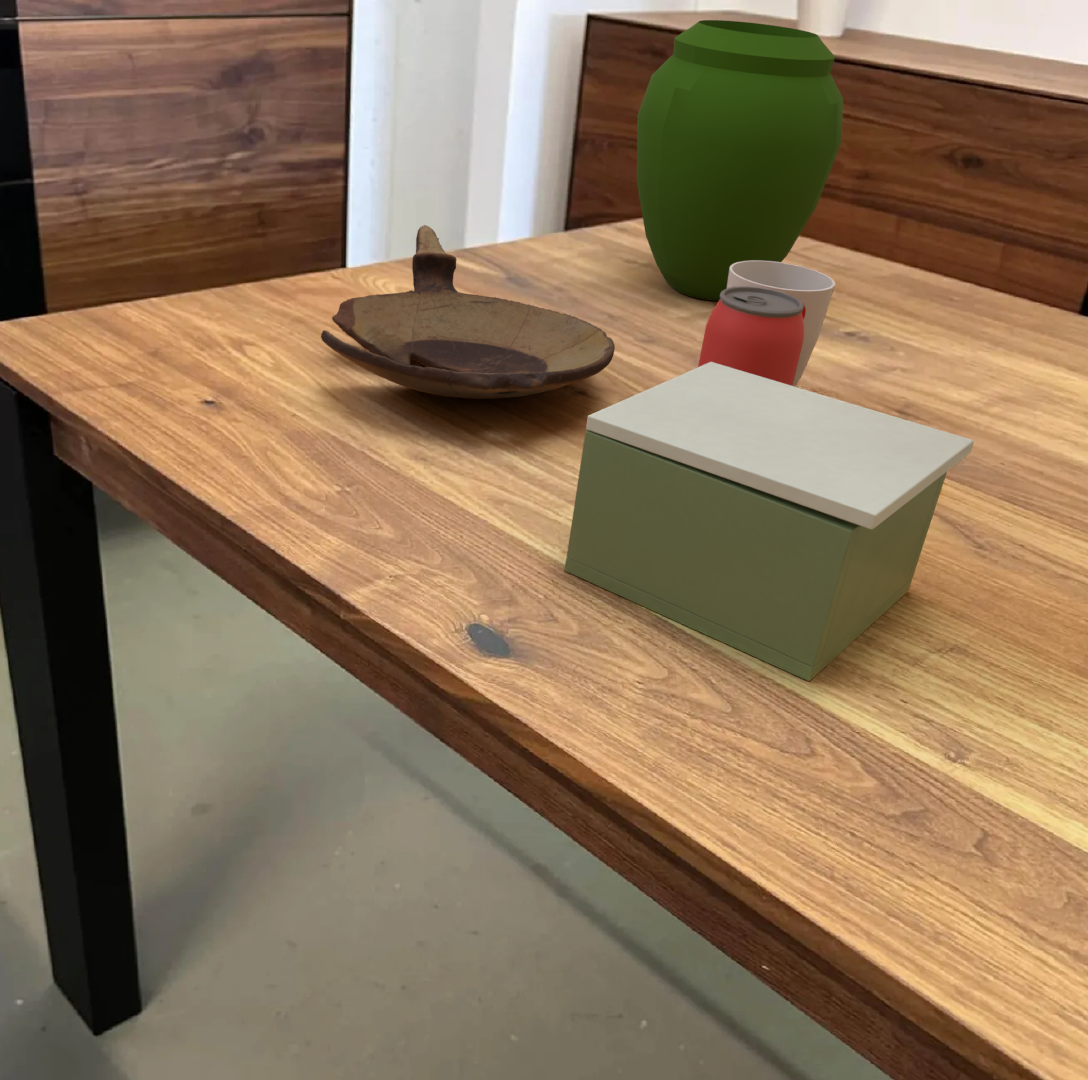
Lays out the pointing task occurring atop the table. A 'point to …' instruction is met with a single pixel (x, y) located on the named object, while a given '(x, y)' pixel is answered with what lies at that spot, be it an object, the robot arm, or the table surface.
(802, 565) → the open green box
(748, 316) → the beer can
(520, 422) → the table surface
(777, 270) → the cup
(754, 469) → the grey box lid
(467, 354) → the oil lamp
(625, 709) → the table surface
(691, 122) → the vase
